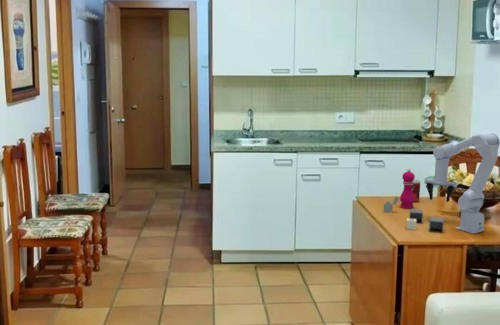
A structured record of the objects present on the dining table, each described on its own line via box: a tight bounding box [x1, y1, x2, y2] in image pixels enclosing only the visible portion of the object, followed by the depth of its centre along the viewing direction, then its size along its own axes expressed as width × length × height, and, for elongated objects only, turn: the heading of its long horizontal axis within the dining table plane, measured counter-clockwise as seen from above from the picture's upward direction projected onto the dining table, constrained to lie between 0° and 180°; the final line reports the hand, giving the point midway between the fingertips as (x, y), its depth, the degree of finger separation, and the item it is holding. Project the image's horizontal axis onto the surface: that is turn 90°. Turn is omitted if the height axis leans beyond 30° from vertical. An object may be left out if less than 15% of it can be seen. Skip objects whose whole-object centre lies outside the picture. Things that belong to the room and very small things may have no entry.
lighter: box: [383, 196, 400, 213], centre depth 293 cm, size 7×2×8 cm, turn 86°
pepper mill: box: [399, 168, 416, 210], centre depth 301 cm, size 7×7×20 cm
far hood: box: [409, 208, 424, 224], centre depth 277 cm, size 6×6×5 cm
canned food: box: [412, 179, 421, 204], centre depth 316 cm, size 8×8×11 cm
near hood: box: [428, 217, 445, 234], centre depth 263 cm, size 6×6×5 cm
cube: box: [405, 217, 417, 231], centre depth 266 cm, size 4×4×4 cm
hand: (439, 200), depth 279 cm, fingers open, 7 cm apart
